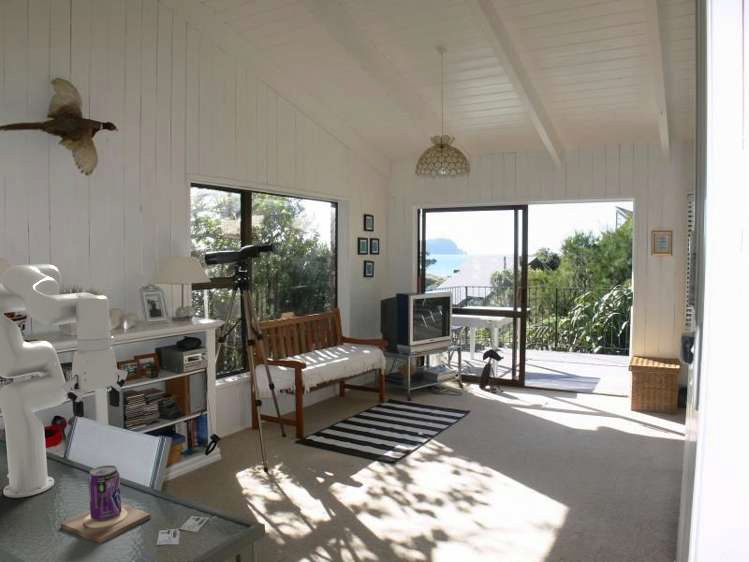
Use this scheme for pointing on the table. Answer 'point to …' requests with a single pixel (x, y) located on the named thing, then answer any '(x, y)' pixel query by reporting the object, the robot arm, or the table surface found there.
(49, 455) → the table surface
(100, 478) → the beverage can
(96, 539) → the board
